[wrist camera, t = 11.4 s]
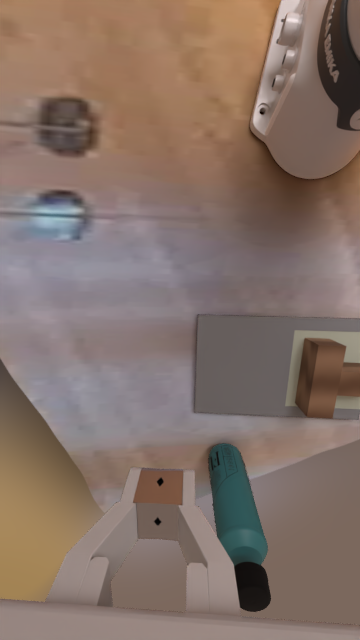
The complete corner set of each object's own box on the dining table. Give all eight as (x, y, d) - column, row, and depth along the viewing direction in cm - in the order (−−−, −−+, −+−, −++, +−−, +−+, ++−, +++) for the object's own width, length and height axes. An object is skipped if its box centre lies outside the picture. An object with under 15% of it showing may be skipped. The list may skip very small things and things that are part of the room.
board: (197, 314, 37) (198, 315, 36) (372, 318, 36) (378, 320, 35) (194, 408, 41) (194, 412, 40) (353, 415, 39) (358, 419, 38)
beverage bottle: (213, 431, 42) (234, 570, 22) (246, 443, 42) (295, 591, 22) (202, 458, 43) (211, 612, 23) (233, 469, 43) (269, 631, 23)
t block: (304, 337, 36) (318, 345, 32) (373, 340, 35) (395, 348, 32) (294, 402, 38) (306, 417, 34) (358, 406, 38) (378, 421, 34)
